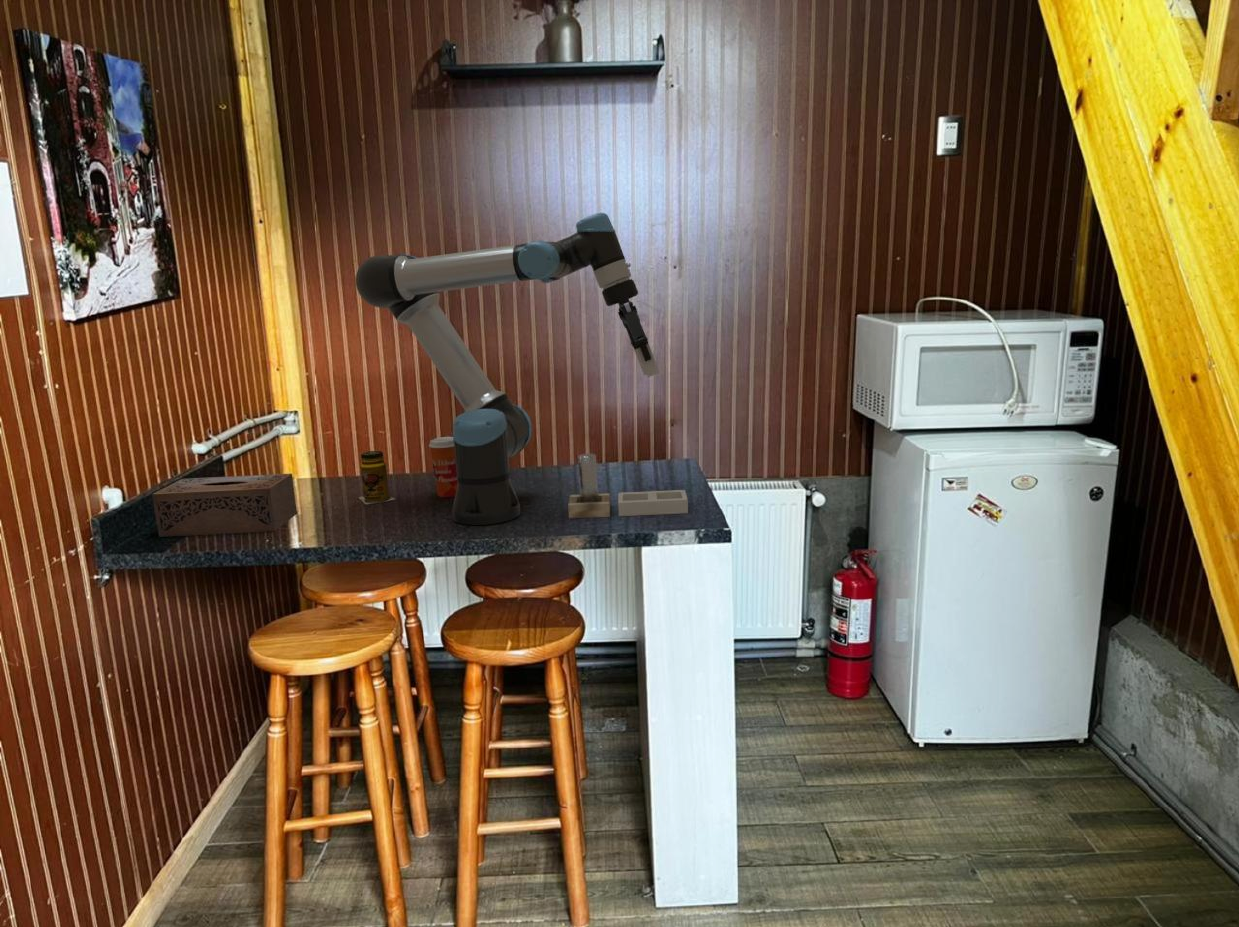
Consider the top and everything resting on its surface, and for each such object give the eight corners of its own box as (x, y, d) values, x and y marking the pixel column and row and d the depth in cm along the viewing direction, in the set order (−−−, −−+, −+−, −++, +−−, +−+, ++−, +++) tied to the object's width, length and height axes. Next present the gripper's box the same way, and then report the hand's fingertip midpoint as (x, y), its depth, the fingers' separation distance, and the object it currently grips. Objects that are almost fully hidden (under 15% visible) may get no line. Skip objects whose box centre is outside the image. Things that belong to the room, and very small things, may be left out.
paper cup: (428, 498, 222) (422, 442, 219) (441, 490, 230) (436, 436, 227) (457, 498, 220) (452, 442, 217) (470, 491, 228) (465, 436, 225)
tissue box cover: (297, 514, 214) (292, 473, 212) (275, 532, 200) (269, 488, 198) (188, 519, 214) (181, 478, 212) (159, 537, 200) (151, 494, 198)
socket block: (568, 518, 199) (568, 505, 198) (571, 507, 207) (570, 495, 207) (609, 516, 199) (609, 503, 198) (610, 505, 207) (609, 493, 207)
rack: (618, 516, 199) (618, 503, 198) (618, 505, 207) (618, 492, 207) (688, 513, 198) (687, 499, 198) (685, 502, 207) (684, 489, 207)
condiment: (365, 505, 219) (360, 456, 216) (358, 498, 226) (353, 451, 224) (395, 500, 222) (390, 452, 220) (387, 493, 229) (382, 447, 227)
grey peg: (586, 515, 200) (583, 458, 198) (578, 511, 204) (574, 455, 201) (602, 512, 202) (599, 455, 199) (593, 508, 206) (590, 452, 203)
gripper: (635, 273, 187) (672, 369, 189) (629, 281, 211) (662, 366, 214) (601, 286, 187) (639, 382, 189) (600, 293, 211) (633, 378, 214)
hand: (651, 374), depth 202 cm, fingers open, 13 cm apart
